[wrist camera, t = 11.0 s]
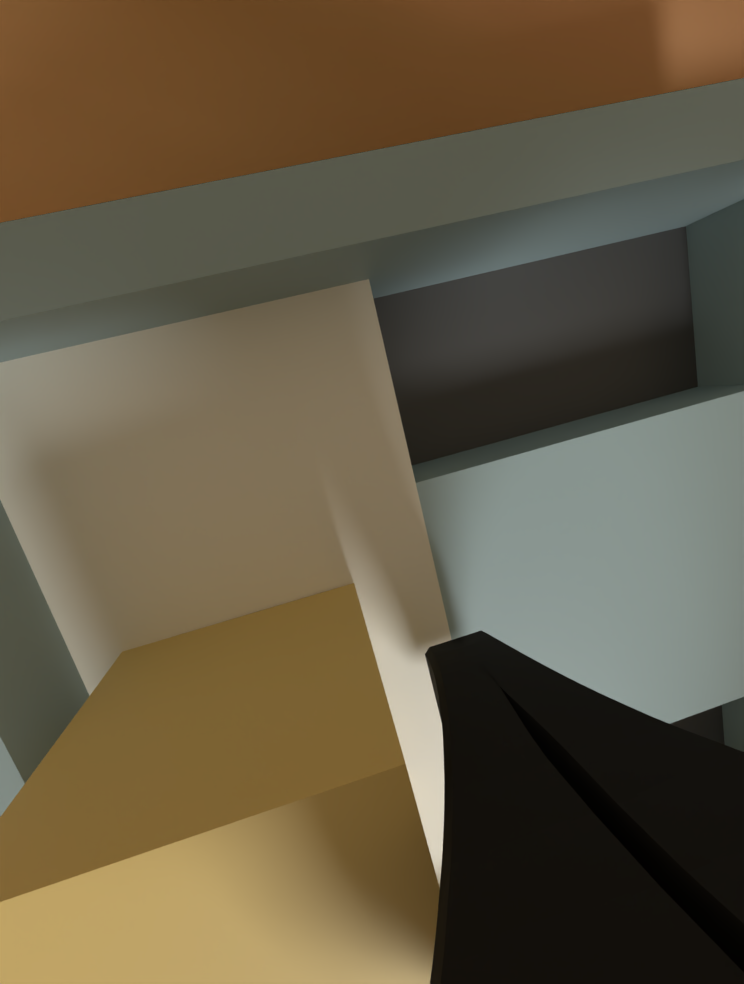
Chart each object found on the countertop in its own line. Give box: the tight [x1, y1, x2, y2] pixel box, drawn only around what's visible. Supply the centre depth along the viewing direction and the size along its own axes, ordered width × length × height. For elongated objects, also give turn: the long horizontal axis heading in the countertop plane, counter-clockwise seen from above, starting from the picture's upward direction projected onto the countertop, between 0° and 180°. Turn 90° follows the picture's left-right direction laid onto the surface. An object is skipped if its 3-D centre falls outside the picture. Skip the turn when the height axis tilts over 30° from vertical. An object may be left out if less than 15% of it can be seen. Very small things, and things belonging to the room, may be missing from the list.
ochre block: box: [0, 583, 440, 984], centre depth 7 cm, size 4×4×4 cm
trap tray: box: [0, 78, 744, 887], centre depth 10 cm, size 17×24×4 cm
